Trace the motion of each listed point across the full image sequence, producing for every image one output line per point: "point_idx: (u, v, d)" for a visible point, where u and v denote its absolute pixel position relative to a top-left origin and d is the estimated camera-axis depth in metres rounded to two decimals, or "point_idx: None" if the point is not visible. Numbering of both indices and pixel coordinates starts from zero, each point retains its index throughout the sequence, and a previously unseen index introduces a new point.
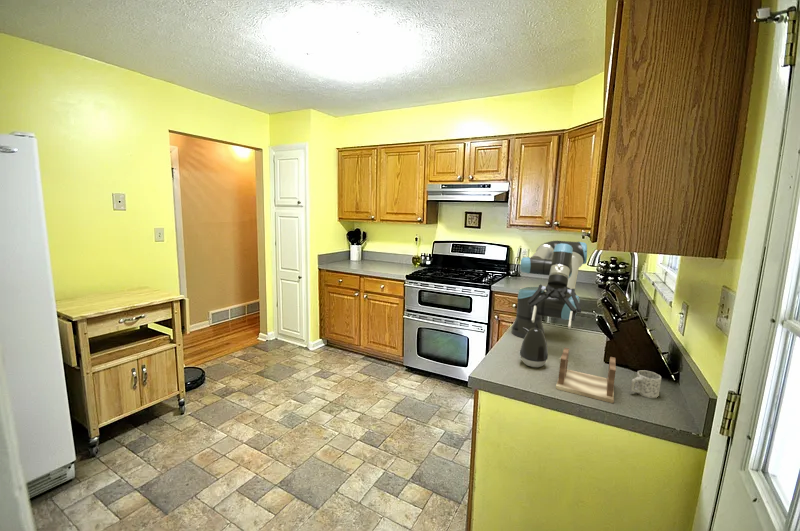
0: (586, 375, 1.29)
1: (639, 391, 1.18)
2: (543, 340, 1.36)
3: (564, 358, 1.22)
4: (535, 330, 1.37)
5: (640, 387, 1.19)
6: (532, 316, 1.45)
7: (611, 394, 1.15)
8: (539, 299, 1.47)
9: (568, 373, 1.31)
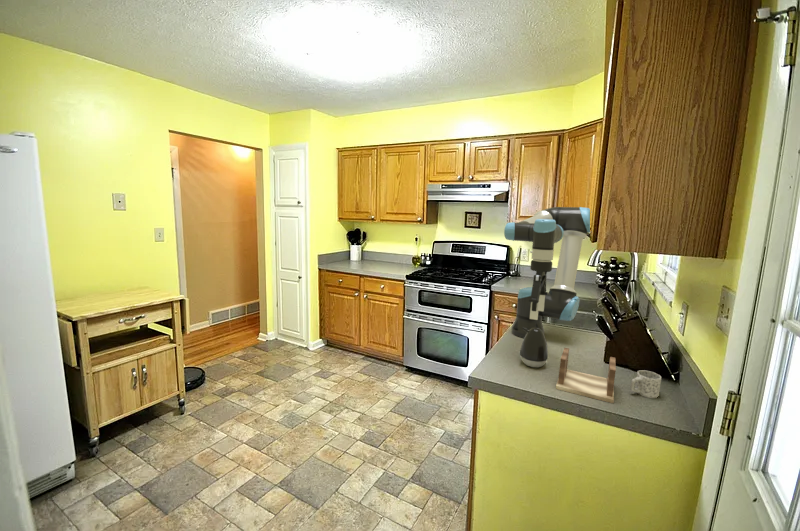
0: (586, 375, 1.29)
1: (639, 391, 1.18)
2: (543, 340, 1.36)
3: (564, 358, 1.22)
4: (535, 330, 1.37)
5: (640, 387, 1.19)
6: None
7: (611, 394, 1.15)
8: None
9: (568, 373, 1.31)
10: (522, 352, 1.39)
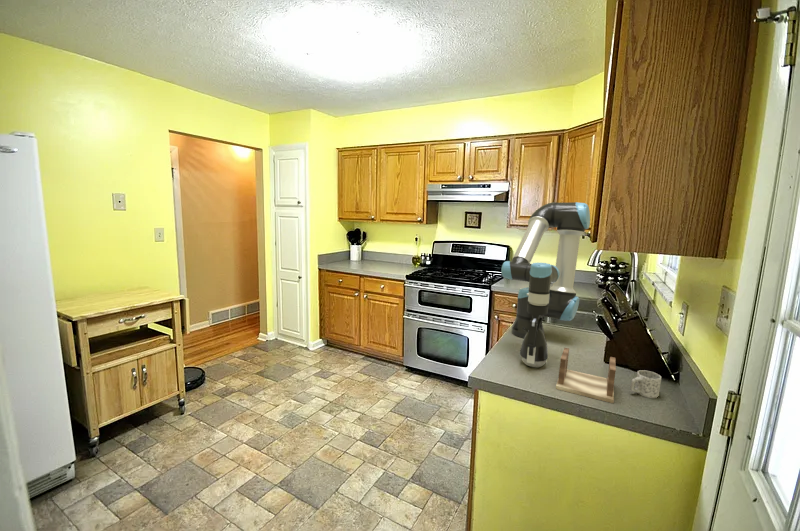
0: (586, 375, 1.29)
1: (639, 391, 1.18)
2: (543, 340, 1.36)
3: (564, 358, 1.22)
4: None
5: (640, 387, 1.19)
6: None
7: (611, 394, 1.15)
8: None
9: (568, 373, 1.31)
10: (522, 352, 1.39)
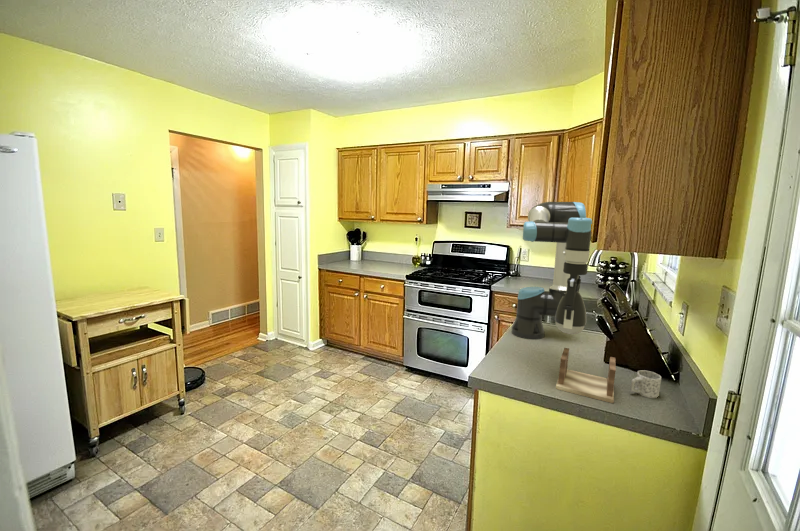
0: (586, 375, 1.29)
1: (639, 391, 1.18)
2: (582, 303, 1.22)
3: (564, 358, 1.22)
4: None
5: (640, 387, 1.19)
6: None
7: (611, 394, 1.15)
8: None
9: (568, 373, 1.31)
10: (557, 317, 1.25)
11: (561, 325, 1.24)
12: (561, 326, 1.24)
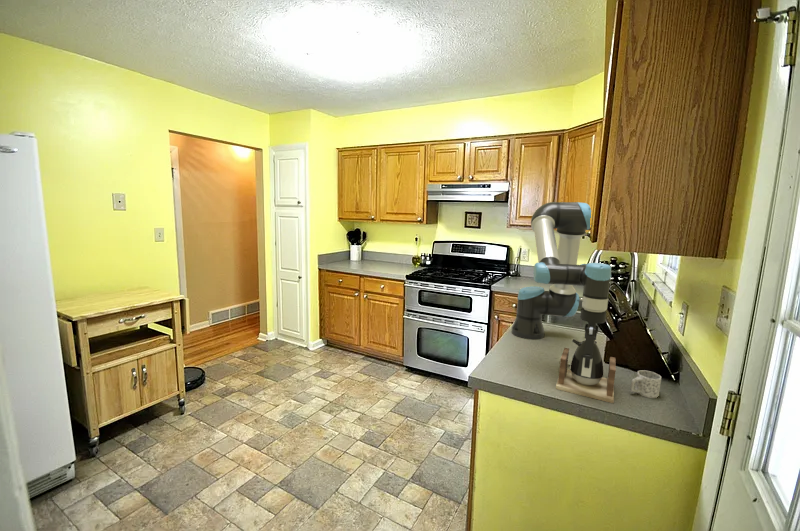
0: None
1: (639, 391, 1.18)
2: (599, 354, 1.20)
3: (564, 358, 1.22)
4: None
5: (640, 387, 1.19)
6: None
7: (611, 394, 1.15)
8: None
9: (568, 373, 1.31)
10: (574, 368, 1.22)
11: (578, 376, 1.21)
12: (578, 377, 1.21)
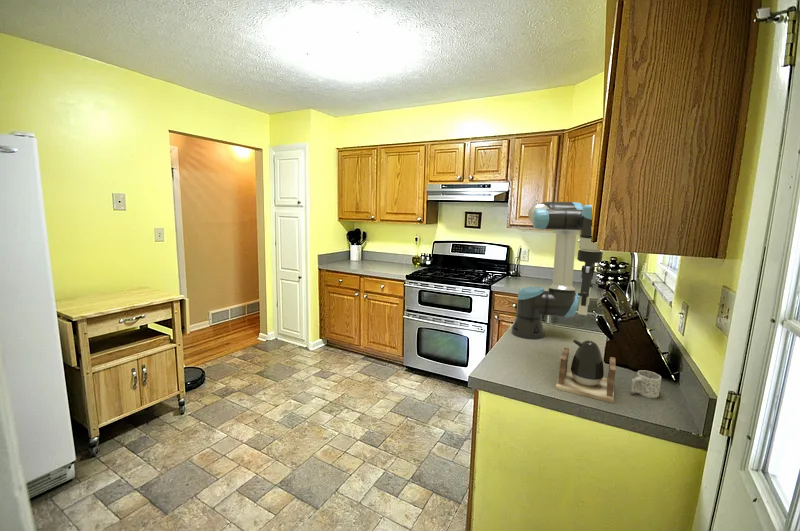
0: None
1: (639, 391, 1.18)
2: (599, 355, 1.19)
3: (564, 358, 1.22)
4: (589, 344, 1.20)
5: (640, 387, 1.19)
6: None
7: (611, 394, 1.15)
8: None
9: (568, 373, 1.31)
10: (574, 368, 1.22)
11: (578, 377, 1.21)
12: (578, 378, 1.21)
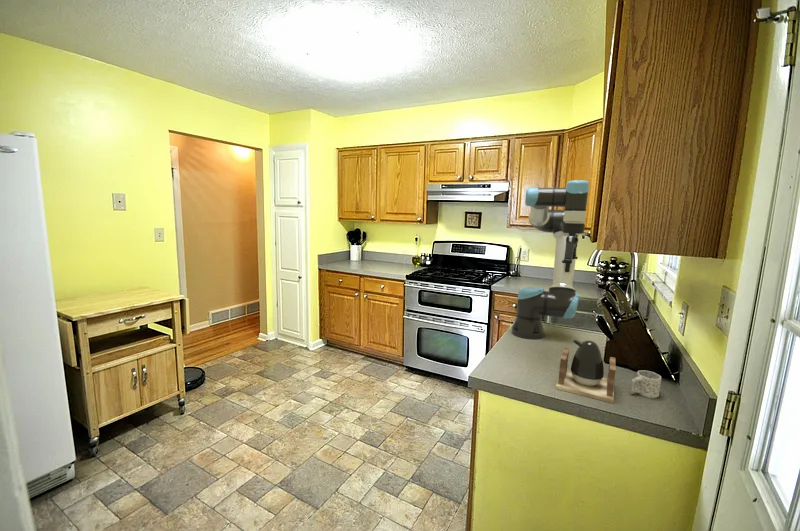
0: None
1: (639, 391, 1.18)
2: (599, 355, 1.19)
3: (564, 358, 1.22)
4: (590, 344, 1.20)
5: (640, 387, 1.19)
6: None
7: (611, 394, 1.15)
8: None
9: (568, 373, 1.31)
10: (574, 368, 1.22)
11: (578, 377, 1.21)
12: (578, 378, 1.21)
